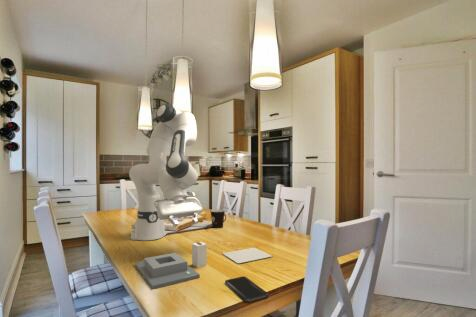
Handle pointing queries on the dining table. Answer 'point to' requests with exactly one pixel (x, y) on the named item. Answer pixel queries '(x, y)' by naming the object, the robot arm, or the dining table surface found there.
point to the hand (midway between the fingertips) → (186, 224)
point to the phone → (246, 289)
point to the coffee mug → (217, 218)
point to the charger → (199, 254)
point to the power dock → (167, 277)
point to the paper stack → (246, 255)
